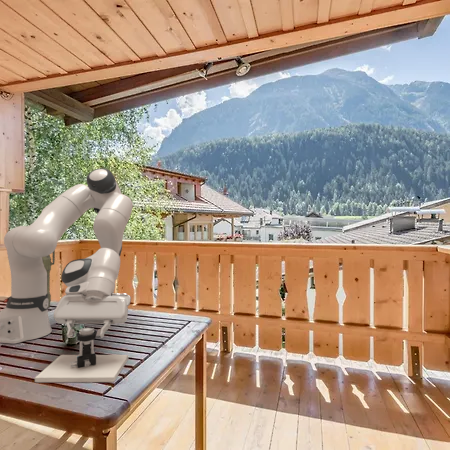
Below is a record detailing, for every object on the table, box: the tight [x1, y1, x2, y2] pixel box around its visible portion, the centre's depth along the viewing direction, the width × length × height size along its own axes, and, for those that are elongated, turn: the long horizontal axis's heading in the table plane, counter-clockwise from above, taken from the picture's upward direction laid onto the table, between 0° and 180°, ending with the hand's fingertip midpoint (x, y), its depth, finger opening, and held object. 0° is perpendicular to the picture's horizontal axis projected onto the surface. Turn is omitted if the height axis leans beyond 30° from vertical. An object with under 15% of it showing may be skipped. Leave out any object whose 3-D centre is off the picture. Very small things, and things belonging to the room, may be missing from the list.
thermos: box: [42, 249, 56, 309], centre depth 152 cm, size 9×12×35 cm
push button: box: [71, 326, 98, 368], centre depth 90 cm, size 7×5×10 cm
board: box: [34, 354, 129, 383], centre depth 90 cm, size 20×14×1 cm
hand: (84, 336), depth 90 cm, fingers open, 7 cm apart
